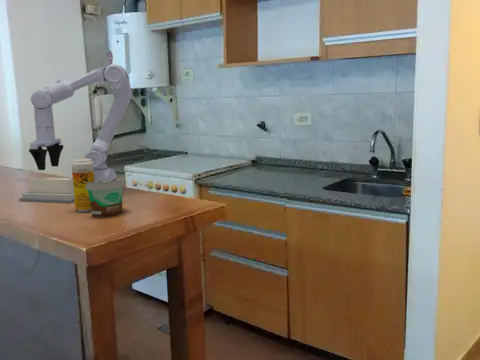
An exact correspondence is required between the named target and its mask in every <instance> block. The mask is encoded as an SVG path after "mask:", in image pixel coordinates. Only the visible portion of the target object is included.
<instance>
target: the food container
mask: <svg viewBox="0 0 480 360" xmlns="http://www.w3.org/2000/svg"><path fill="white" fill-rule="evenodd" d="M125 185H126V184H125V179H124V178H123V177H122V176H121V175H116V179H114V180H103V181H100V182H87V185H86V190H88V194H89V200H90V206H91V211H90V212H91V216H92V217H94V218H107V217H114V216H117V215H120V214H122V213H123V187H124V186H125Z"/></svg>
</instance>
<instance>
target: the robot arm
mask: <svg viewBox="0 0 480 360" xmlns="http://www.w3.org/2000/svg"><path fill="white" fill-rule="evenodd" d="M98 82H103V83H108V84H109V85H110V86H111V88H112V91H113V92H114V95H115V98H114V100H113V102H112V104H111V107H110V109H109V110H108V113H107V115H106V117H105V120H104V122H103V124H102V126H101V128H100V130H99V132H98V134H97V136H96V139H95V141H93V144H92V146H91V148H90V149H89V150H88V151H86V152H85V153H84V155H83V159H92V162H93V164H94V178H95V182H100V181H103V180H114V179H117V173H116V170H115V169H114V168H109V167H108V164H107V163H106V161H107V159H108V150H109V148H110V145H111V142H112V141H113V137H114V135H115V133H116V131H117V129H118V128H119V126H120V123H121V121H122V119H123V117H124V115H125V112H126V109H127V108H128V106H129V104H130V102H131V100H132V95H133V94H132V89H131V88H132V87H131V84H130V83H131V81H130V76H129V75H128V72H127V70H126V69H125V68H124V67H123V66H121V65H118V64H117V63H112V64H109V65H107V66H102V67H100V68H96V69H94V70H92V71H90V72H88V73H85V74H84V75H81V76H79V77H77V78H76V79H73V80H71V81H70V80H69V81H68V80H67V79H63V80H62V79H59V80H56V83H54V84H52V85H50V86H44V87H43V90H42V89H38V90H36V91H35V92H33V93H32V94H31V96H30V102H31V104H32V106H33V110H34V112H33V113H34V124H35V125H34V126H35V127H34V128H35V137H36V140H34V141H33V142H30V143H29V144H30V145H29V146H30V148H28V152H29V154H30V155H31V156H32V158H33V159H34V161H35V164H36V167H37V170H38V171H45V170H46V158H47V153H48V157H49V160H50V162H49V163H50V165H51V167H59V163H60V158H61V153H62V152H63V149H64V144H62V139H61V138H56V134H55V123H54V113H53V105H54V104H58V103H60V102H62V101H64V100H68V99H70V98H71V97H73V96H74V94H75V91H78V90H80V89H81V88H84V87H87V86H89V85H92V84H94V83H98Z"/></svg>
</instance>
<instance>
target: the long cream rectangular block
mask: <svg viewBox="0 0 480 360" xmlns="http://www.w3.org/2000/svg"><path fill="white" fill-rule="evenodd" d="M28 183H29V191H30V193H39V194H69V195H70V194H73V193H74V188H73V177H70V178H69V177H37V176H35V177H31V178H29V179H28Z"/></svg>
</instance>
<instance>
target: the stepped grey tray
mask: <svg viewBox="0 0 480 360" xmlns="http://www.w3.org/2000/svg"><path fill="white" fill-rule="evenodd" d="M21 196H22V197H20V198H19V201H18V202H31V203H33V202H34V203H55V204H56V203H58V204H60V203H61V204H72V203H75V201H74V193H73V194H70V195H69V194H39V193H30V190H29V191H26V192H22V193H21Z"/></svg>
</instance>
